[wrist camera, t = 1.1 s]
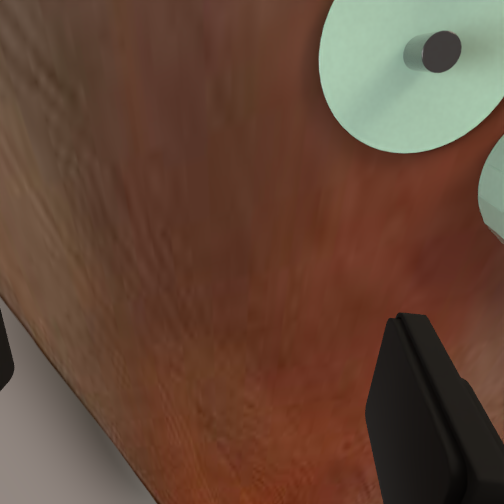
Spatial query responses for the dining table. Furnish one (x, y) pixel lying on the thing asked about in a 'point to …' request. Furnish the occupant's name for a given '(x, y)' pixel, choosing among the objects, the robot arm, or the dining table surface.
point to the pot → (493, 191)
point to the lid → (412, 69)
